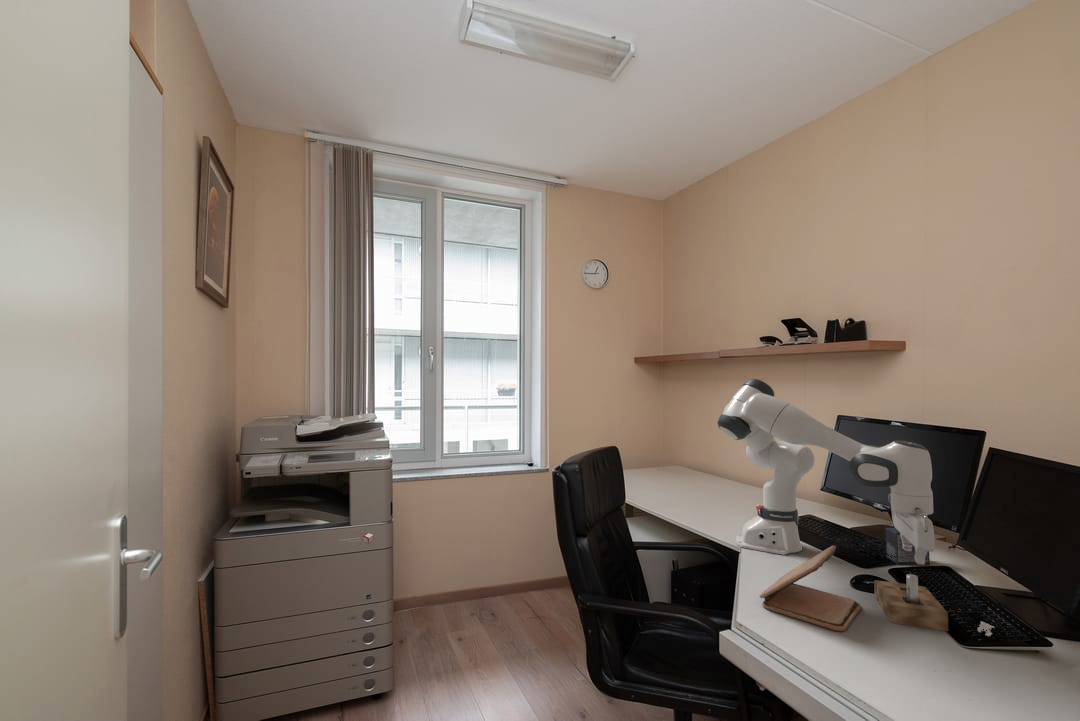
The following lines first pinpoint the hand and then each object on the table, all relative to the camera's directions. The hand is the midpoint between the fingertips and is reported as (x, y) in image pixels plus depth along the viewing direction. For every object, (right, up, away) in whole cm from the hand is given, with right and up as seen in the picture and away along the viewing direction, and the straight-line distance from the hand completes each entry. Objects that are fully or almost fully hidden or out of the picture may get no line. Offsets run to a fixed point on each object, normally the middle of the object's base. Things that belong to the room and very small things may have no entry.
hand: (913, 556), depth 128 cm
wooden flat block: (+1, -16, +3) cm, 16 cm away
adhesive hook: (+13, -16, -8) cm, 22 cm away
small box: (+27, -17, +38) cm, 50 cm away
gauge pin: (-1, -16, -1) cm, 16 cm away
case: (-24, -17, +6) cm, 30 cm away
